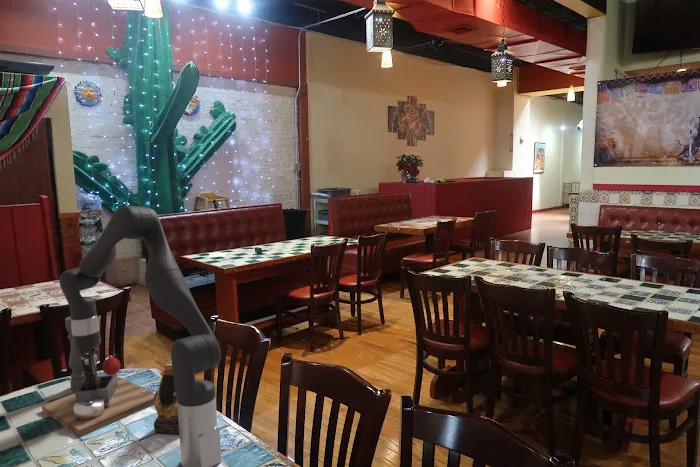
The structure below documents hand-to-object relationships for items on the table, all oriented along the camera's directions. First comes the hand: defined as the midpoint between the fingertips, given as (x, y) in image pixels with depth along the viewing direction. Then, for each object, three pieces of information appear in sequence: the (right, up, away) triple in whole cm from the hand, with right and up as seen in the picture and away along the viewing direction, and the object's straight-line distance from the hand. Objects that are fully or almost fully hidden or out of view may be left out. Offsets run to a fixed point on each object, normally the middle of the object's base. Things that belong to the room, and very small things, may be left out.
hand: (92, 382), depth 152 cm
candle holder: (-12, -6, +15) cm, 20 cm away
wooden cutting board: (+3, -8, +1) cm, 8 cm away
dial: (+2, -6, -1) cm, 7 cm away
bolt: (0, -4, +1) cm, 4 cm away
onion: (-5, -5, +23) cm, 24 cm away
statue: (+31, -10, -13) cm, 35 cm away
